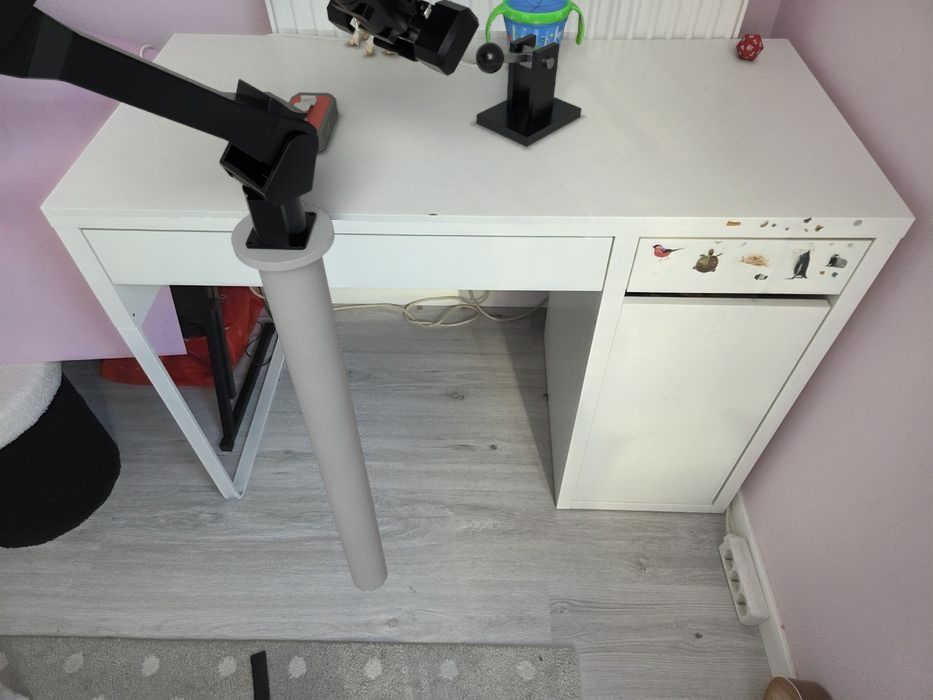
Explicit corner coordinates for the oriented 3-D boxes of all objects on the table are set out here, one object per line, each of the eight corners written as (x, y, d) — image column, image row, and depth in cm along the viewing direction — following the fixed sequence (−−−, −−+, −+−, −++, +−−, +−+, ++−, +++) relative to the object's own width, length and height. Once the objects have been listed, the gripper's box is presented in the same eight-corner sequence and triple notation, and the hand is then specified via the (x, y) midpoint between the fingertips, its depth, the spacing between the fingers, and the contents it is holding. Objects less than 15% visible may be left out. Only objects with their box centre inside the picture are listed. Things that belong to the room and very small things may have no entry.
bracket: (526, 147, 87) (532, 67, 79) (476, 123, 91) (477, 45, 84) (580, 117, 93) (590, 40, 85) (530, 96, 97) (536, 21, 89)
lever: (488, 78, 79) (494, 46, 77) (467, 69, 80) (472, 38, 78) (546, 74, 87) (553, 46, 85) (526, 66, 88) (532, 38, 86)
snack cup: (485, 82, 101) (487, 13, 93) (483, 55, 108) (484, -11, 101) (584, 81, 101) (593, 13, 93) (575, 54, 108) (583, -12, 101)
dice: (731, 53, 108) (738, 29, 105) (758, 56, 108) (766, 31, 105) (733, 62, 106) (740, 37, 103) (761, 65, 105) (769, 40, 102)
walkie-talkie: (283, 108, 94) (245, 182, 81) (276, 79, 91) (236, 150, 78) (341, 109, 94) (313, 183, 81) (337, 80, 91) (307, 151, 77)
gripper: (465, -90, 55) (538, 14, 68) (332, -123, 63) (419, -25, 77) (403, 32, 56) (485, 110, 70) (282, -17, 65) (376, 60, 79)
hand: (440, 59), depth 74 cm, fingers closed
